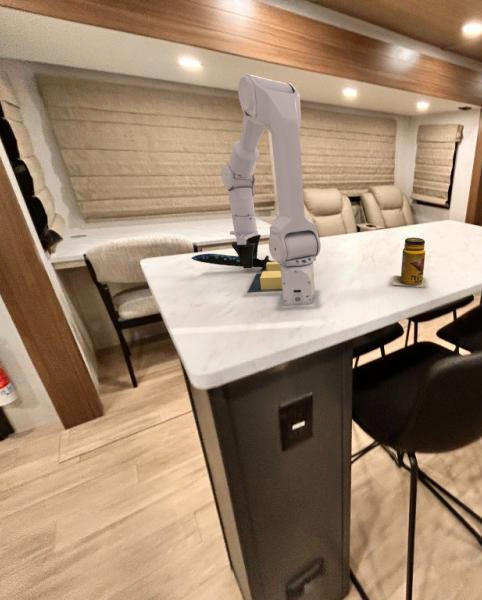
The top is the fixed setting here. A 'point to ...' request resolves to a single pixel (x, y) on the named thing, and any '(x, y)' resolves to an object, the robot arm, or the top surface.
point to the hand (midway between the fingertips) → (250, 264)
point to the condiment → (412, 264)
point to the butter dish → (259, 286)
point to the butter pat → (273, 266)
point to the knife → (230, 260)
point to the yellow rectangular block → (271, 280)
